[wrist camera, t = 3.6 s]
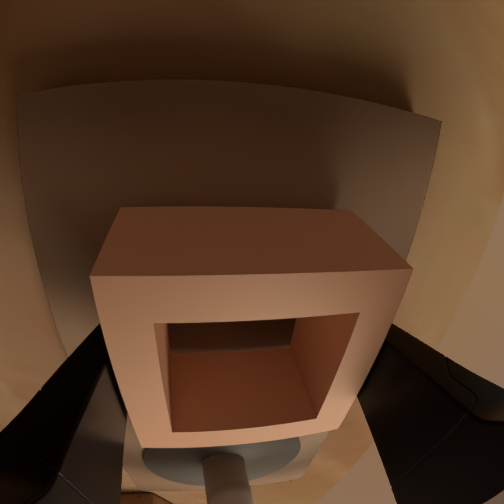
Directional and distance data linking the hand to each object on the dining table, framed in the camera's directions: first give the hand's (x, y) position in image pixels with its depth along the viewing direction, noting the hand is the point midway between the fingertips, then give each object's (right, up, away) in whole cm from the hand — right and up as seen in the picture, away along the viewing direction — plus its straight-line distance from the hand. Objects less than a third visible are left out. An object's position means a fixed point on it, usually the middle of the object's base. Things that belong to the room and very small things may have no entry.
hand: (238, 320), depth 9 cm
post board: (-1, -4, +5) cm, 7 cm away
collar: (0, 0, +1) cm, 1 cm away
